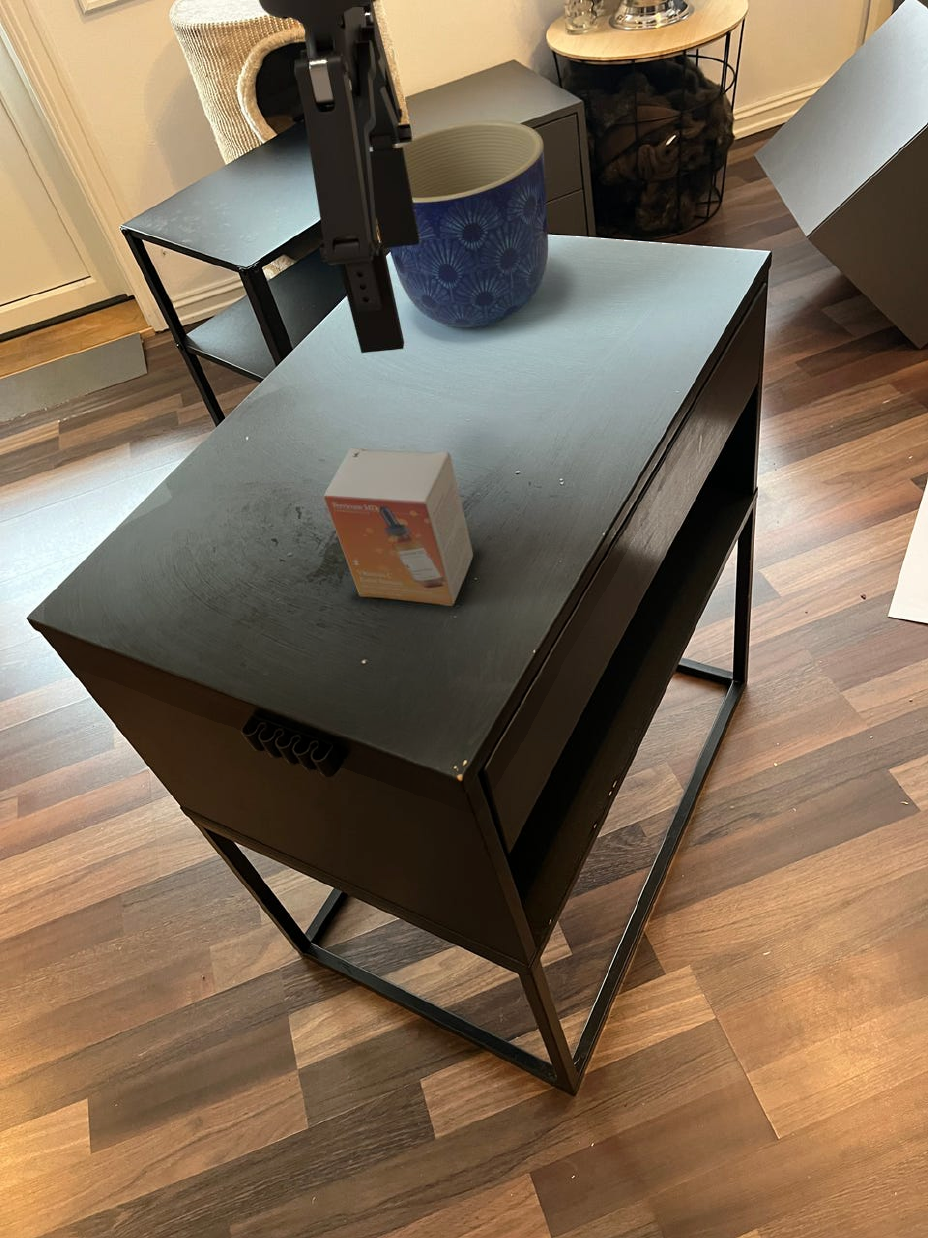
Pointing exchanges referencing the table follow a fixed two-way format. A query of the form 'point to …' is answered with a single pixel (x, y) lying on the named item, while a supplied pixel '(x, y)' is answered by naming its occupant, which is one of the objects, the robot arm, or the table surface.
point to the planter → (475, 222)
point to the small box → (401, 524)
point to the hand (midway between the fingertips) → (392, 292)
